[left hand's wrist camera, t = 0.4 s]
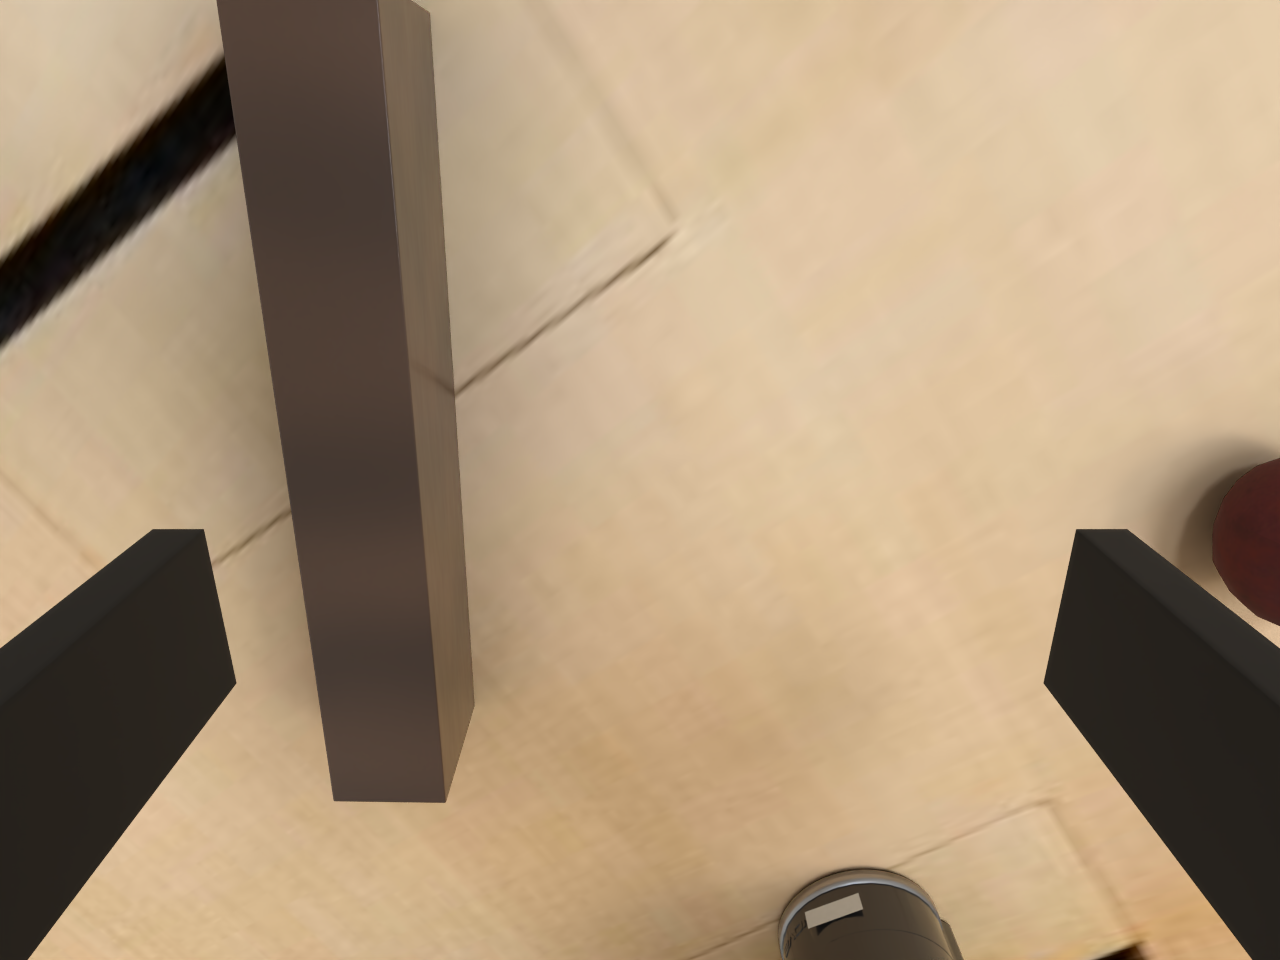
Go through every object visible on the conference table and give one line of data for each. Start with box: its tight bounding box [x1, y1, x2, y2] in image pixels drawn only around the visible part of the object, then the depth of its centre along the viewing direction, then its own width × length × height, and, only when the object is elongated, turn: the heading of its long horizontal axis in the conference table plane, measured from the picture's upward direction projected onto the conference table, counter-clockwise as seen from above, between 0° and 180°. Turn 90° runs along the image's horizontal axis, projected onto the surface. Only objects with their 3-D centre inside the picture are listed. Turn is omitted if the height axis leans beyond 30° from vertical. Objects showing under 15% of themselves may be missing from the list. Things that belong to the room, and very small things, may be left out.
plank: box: [217, 0, 474, 803], centre depth 35 cm, size 32×5×7 cm, turn 179°
